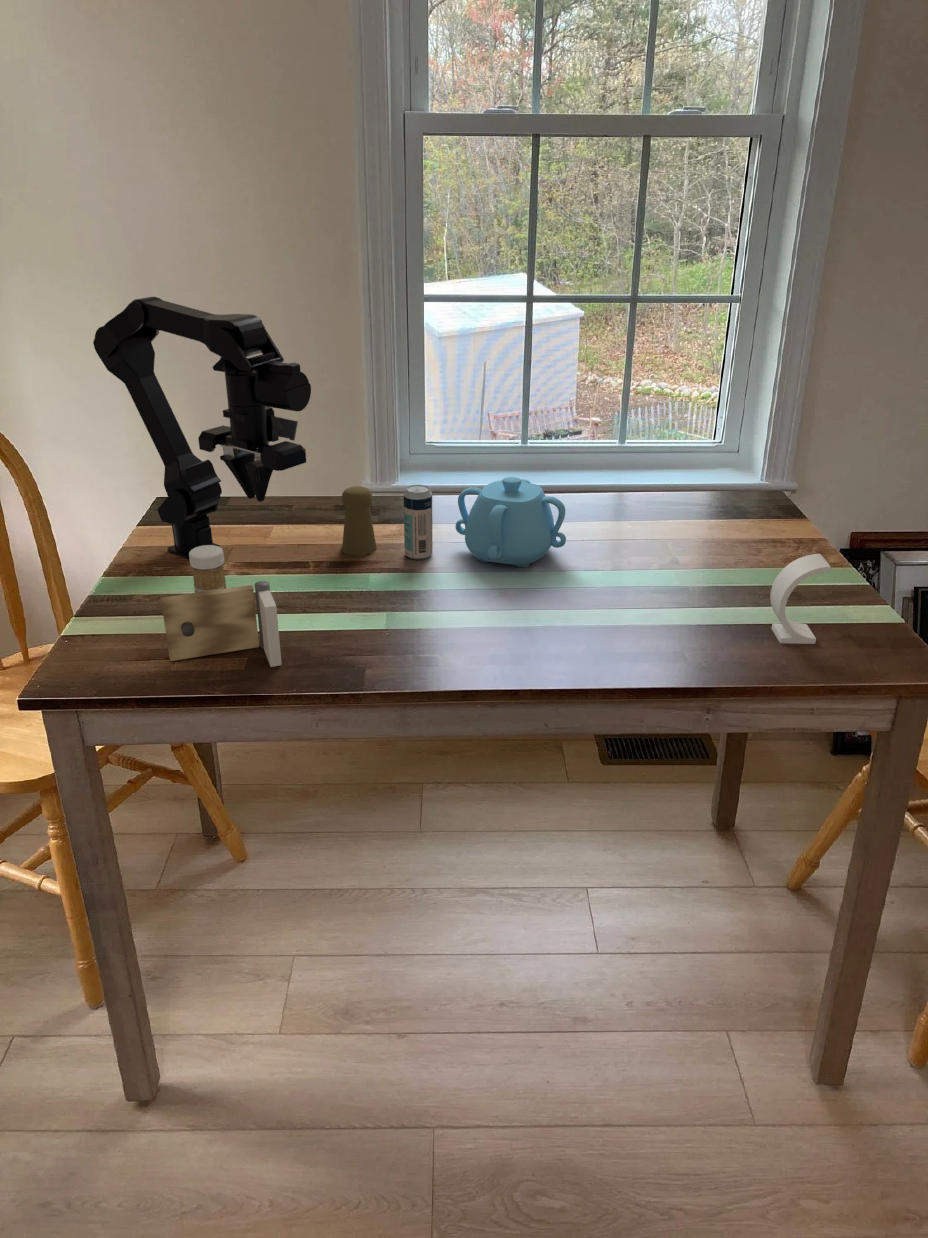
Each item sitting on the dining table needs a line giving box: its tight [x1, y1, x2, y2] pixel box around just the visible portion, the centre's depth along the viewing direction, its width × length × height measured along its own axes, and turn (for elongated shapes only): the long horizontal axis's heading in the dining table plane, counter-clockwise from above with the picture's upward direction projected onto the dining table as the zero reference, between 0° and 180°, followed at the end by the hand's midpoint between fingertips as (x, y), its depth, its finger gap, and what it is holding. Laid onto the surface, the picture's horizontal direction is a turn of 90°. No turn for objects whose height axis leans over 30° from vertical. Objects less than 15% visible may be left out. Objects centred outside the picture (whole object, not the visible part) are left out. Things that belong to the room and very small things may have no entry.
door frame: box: [254, 580, 283, 668], centre depth 128 cm, size 7×2×10 cm, turn 21°
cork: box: [341, 485, 378, 556], centre depth 162 cm, size 6×6×11 cm
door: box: [160, 584, 260, 662], centre depth 128 cm, size 12×2×9 cm, turn 111°
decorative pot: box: [454, 476, 567, 568], centre depth 159 cm, size 16×16×14 cm
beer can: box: [403, 484, 434, 560], centre depth 159 cm, size 5×5×12 cm
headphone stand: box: [769, 553, 832, 645], centre depth 134 cm, size 5×6×12 cm
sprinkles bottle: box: [189, 545, 227, 593], centre depth 132 cm, size 5×5×13 cm
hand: (256, 499), depth 151 cm, fingers closed
